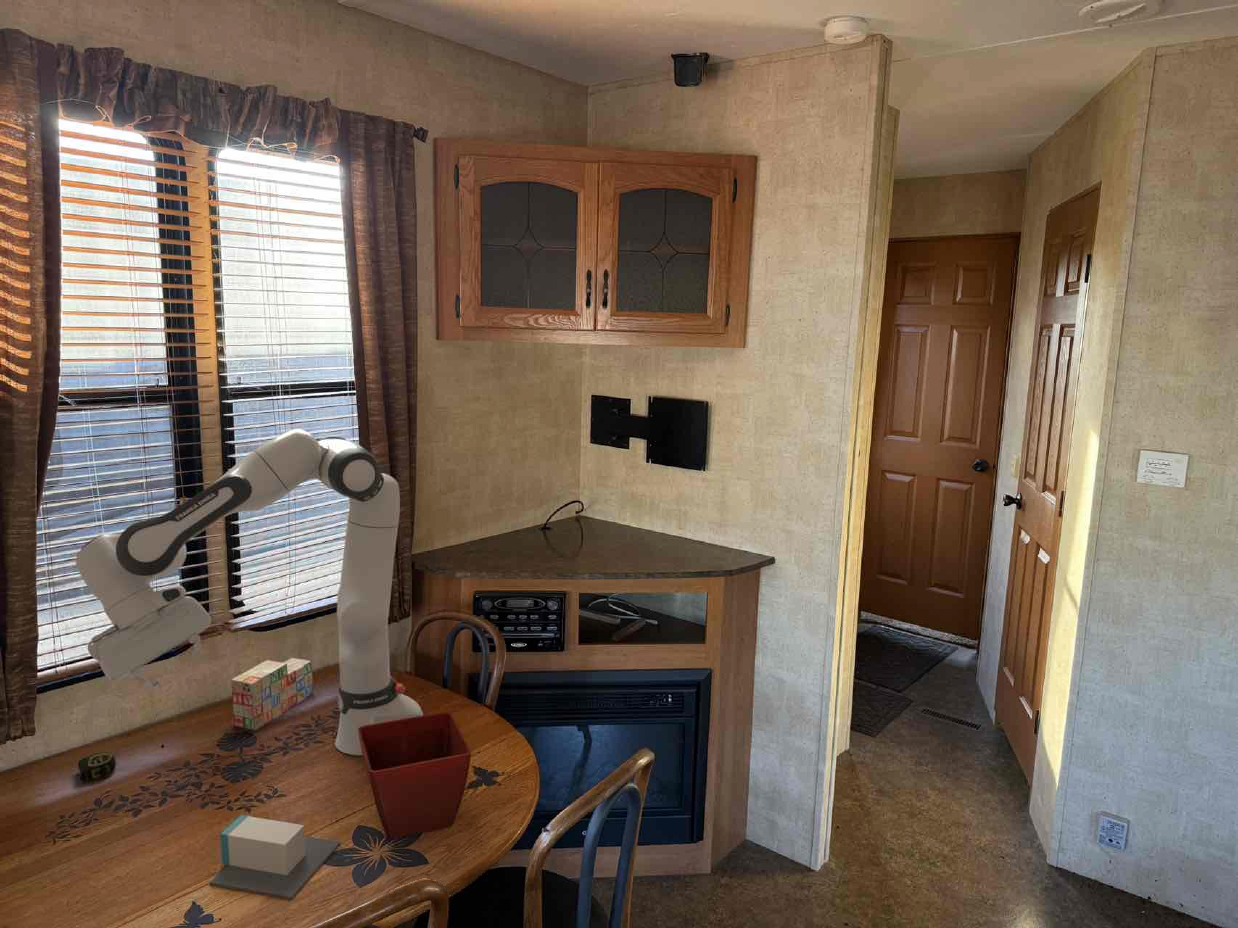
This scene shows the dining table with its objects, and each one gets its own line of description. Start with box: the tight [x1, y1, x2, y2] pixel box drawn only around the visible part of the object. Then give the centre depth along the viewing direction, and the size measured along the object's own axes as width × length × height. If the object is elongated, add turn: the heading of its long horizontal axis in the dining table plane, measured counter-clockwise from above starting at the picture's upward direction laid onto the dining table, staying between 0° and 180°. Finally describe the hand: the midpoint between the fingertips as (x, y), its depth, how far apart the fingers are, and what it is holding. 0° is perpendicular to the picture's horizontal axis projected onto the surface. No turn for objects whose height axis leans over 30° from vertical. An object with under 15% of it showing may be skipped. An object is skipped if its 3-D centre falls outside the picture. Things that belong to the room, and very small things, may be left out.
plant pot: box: [358, 711, 472, 840], centre depth 172 cm, size 19×19×17 cm
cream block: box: [220, 814, 306, 875], centre depth 158 cm, size 6×6×13 cm
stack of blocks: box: [231, 657, 314, 731], centre depth 217 cm, size 21×6×12 cm, turn 161°
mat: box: [209, 835, 341, 901], centre depth 158 cm, size 16×16×1 cm
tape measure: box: [77, 752, 117, 783], centre depth 186 cm, size 7×7×4 cm
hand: (178, 672), depth 167 cm, fingers open, 8 cm apart
